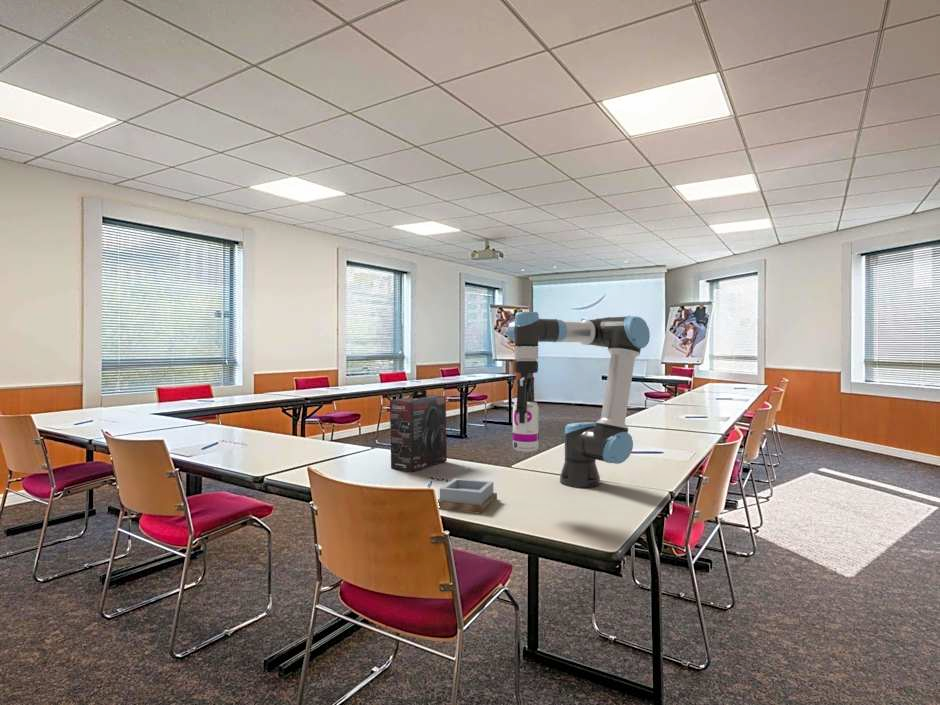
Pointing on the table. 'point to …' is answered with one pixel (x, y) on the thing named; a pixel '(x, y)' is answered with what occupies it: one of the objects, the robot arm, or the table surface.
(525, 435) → the supplement can
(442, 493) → the grey rimmed block
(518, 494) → the table surface
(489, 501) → the walnut slab
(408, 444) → the headset box
